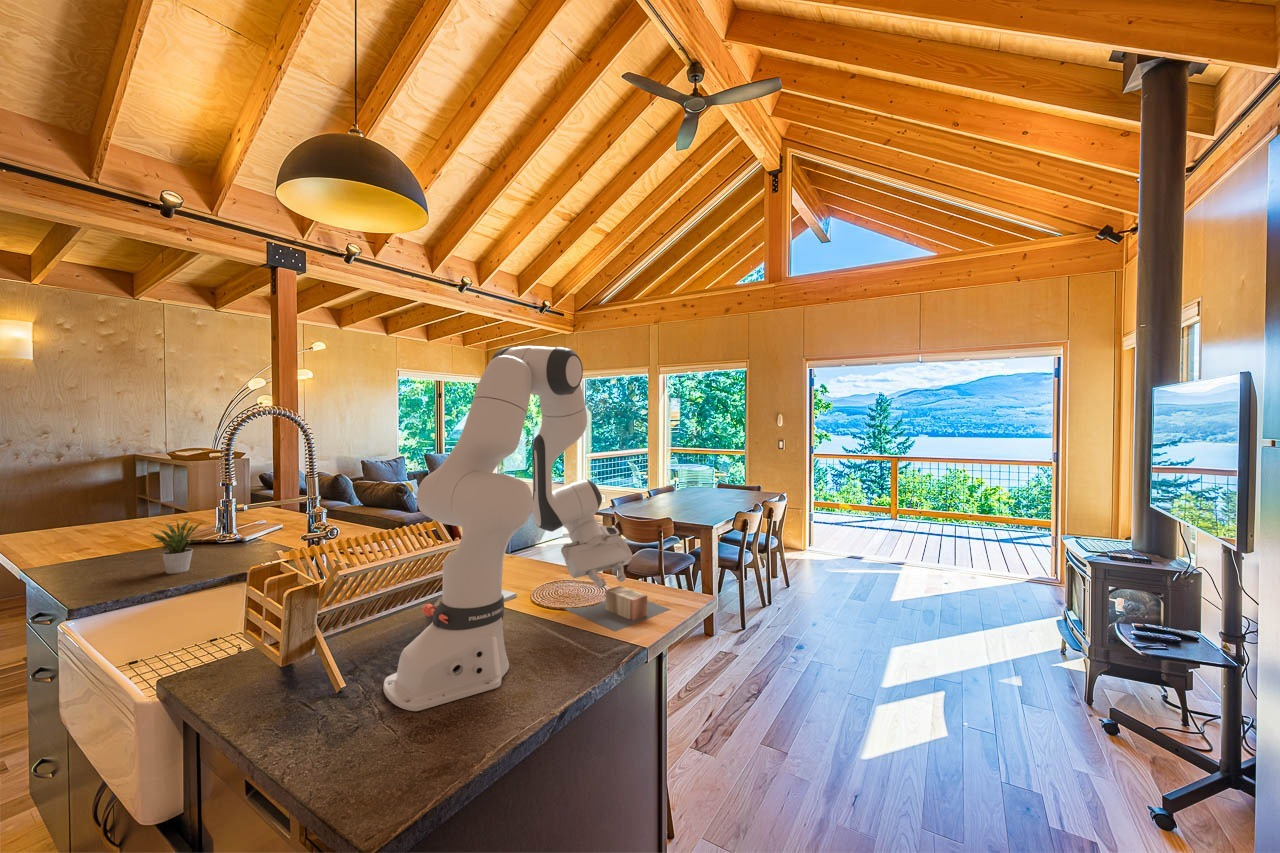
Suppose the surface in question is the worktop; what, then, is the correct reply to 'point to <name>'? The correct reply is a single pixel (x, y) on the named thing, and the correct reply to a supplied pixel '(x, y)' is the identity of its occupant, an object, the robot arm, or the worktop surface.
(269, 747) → the worktop surface
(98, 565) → the worktop surface
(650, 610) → the rubber mat
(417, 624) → the worktop surface
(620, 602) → the beige brown block
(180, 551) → the house plant
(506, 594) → the hard drive
